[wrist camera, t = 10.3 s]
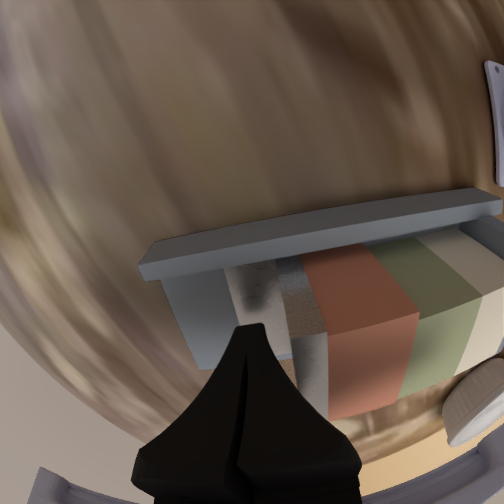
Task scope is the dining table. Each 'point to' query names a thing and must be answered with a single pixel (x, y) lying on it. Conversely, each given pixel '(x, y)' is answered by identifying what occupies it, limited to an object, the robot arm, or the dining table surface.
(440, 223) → the shelf
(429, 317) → the olive block
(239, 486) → the robot arm
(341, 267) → the rust book
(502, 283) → the cream book
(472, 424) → the ramekin
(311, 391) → the bookend
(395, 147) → the dining table surface
